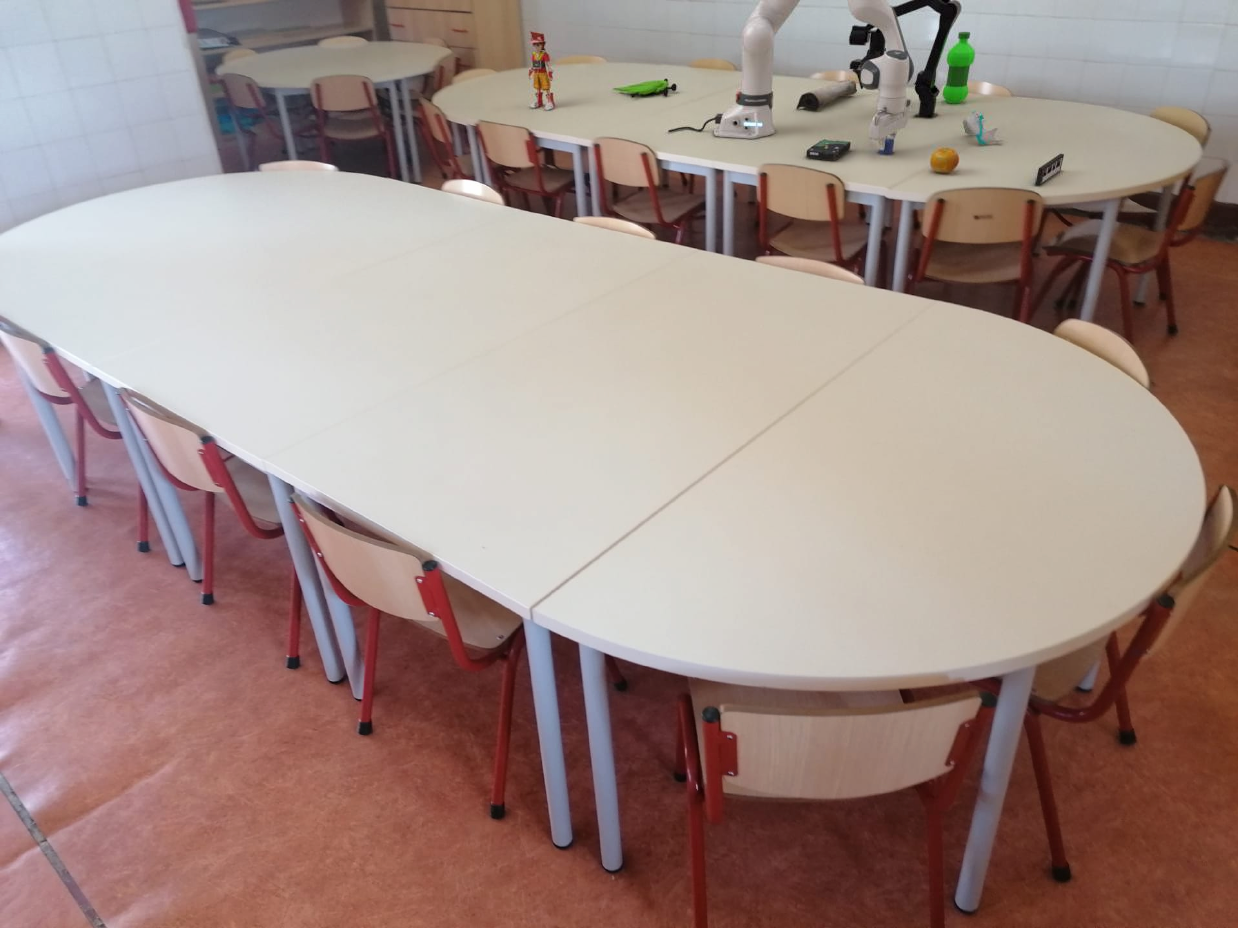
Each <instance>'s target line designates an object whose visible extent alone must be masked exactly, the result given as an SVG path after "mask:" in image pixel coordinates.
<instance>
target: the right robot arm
mask: <svg viewBox="0 0 1238 928" xmlns="http://www.w3.org/2000/svg"><path fill="white" fill-rule="evenodd" d="M891 6H892V5H891ZM892 7H893V9H894V10H895V13H896V15H897V18H899V17H901V16H904V15H907V14H911V13H912V12H914V11H917V10H920V9H923V8H926V7H929V8H931V9H932V10H933V11H934V12H935V13H937V14H939V20H938V30H937V32H936V36H935V38H934V41H933V44H932V47H931V50H930V53H929V56H928V58H927V60H926V61H927V62H926V64H925V67H924V69H922V70H920V71H919V72H918V73H917V75H916V80H915V82H914V83H913V85H914V91H915V93H916V94H917V96H918V100H919V106H918V113H915V114H914V117H918V118H926V119H932V118H935V117H936V116H938V112H935V111H936V105H937V97H938V96H939V94H940V92H941V91H940V89H939V88H938V87H937V86H936V85H935V84H936V80H937V79H936V78H937V69H938V66H939V63H940V60H941V58H942V55H943V52H944V49H945V47H946V43H947V41H948V38H949V35H950V32H951V30H952V28H953V26H954V24H955V23H956V21H957V20H958V18H959V16H960V14H961V12H962V3H960V1H958V0H908V1H905V2H903V3H901V4H898V5H893V6H892ZM874 28H876V29H875V30H873V29H874ZM848 37H849V38H848V43H849V46H862V47H863V46H866V45H867V44H869V46H868V49H867V52H866V55H865V56H863V58H855V59H853V60H851V62H850V63H849V70H852V72H853V73H855V74H856V77H857V79H858V83H859V88H860V90H863V89H864V87H863V86H862V84H861V81H860V71H861V68H862V66H863V64H864V63H865V62H866V61H868V60H871V59H875V58H878V57H881V56H883V55H884V54H885V53H886V52H887V47H886V42H885V38H884V35H883V33H882V32H881V31H880V29H878V28H877V27H875V26H873V25H871V24H868V23H866V25H858V24H854V25H852V27H851V31H850V34H849V36H848Z"/></svg>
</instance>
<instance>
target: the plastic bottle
mask: <svg viewBox="0 0 1238 928" xmlns="http://www.w3.org/2000/svg"><path fill="white" fill-rule="evenodd" d="M970 36H971V32H970V31H959V32H958V36H957V39H958V42H957V43H956V44H954V45H953V46H952V47H951V48H950V49H949V50H948V52H947V54H946V63H947V64H948V69H947V70H948V71H947V76H946V77H947V78H946V84H945V85H944V87H943V90H942V97H943V99H944V100H945V101H946V102H947V103H948V104H960V103H961V102H963V101H964V100H966V98H967V96H968V95H969V85H968V79H969V73H970V67H971V65H972V64H973V63H974V61H975V57H976V51H975V49H974V47H972V45H971V44H970V43H969V42H968V41H969V39H970V38H971V37H970Z"/></svg>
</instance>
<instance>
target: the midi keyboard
mask: <svg viewBox="0 0 1238 928" xmlns="http://www.w3.org/2000/svg"><path fill="white" fill-rule="evenodd" d="M1064 157H1065V153H1059V154H1058V155H1056V156H1055V157H1052V159H1051V160H1049V161H1047V162H1045V164H1042V165H1041V166H1039V167H1038V169H1037V175H1036V179H1035V186H1040V185H1042V183H1044V182H1045V181H1047V180H1048V179H1049V178H1051V177H1052V176H1054V175H1055V174H1056V173H1058V172H1060V171H1061V170H1062V165H1063V161H1064Z"/></svg>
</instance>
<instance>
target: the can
mask: <svg viewBox="0 0 1238 928" xmlns="http://www.w3.org/2000/svg"><path fill="white" fill-rule="evenodd" d="M885 144H886V148H885V149H884V150H879V149H878V154H880V155H885V156H886V155H887V156H888V155H892V154H893V153H894V144H895V140H893V139H889V137H888V138H887V137H886V139H885Z"/></svg>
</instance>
